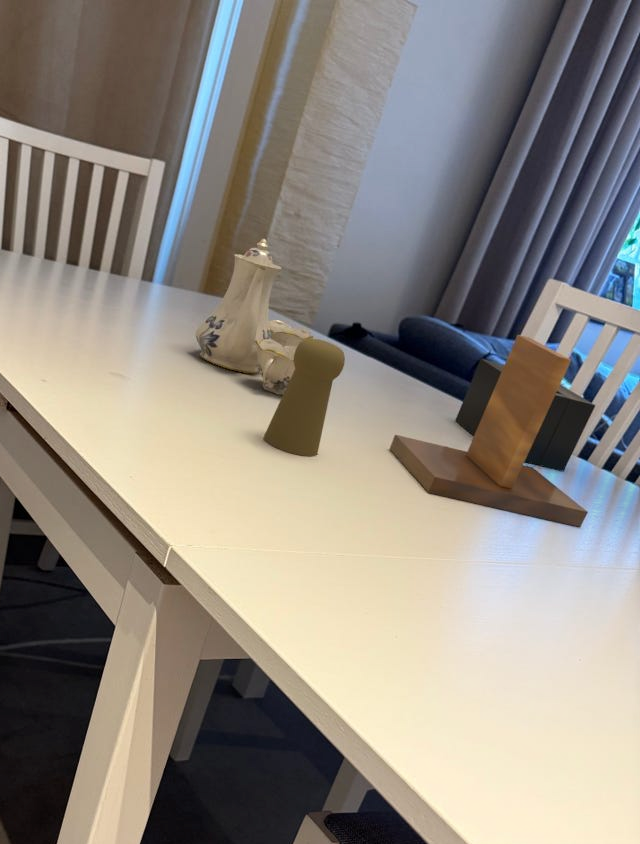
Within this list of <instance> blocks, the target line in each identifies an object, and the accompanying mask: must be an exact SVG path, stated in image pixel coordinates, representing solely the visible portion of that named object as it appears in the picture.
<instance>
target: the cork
mask: <svg viewBox="0 0 640 844" xmlns="http://www.w3.org/2000/svg"><path fill="white" fill-rule="evenodd" d="M345 361H346V357H345V352H344V351H343V349H342V348H340V346H338V345H336V344H334V343H333V342H329V341H326V340H323V339H319V338H318V339H317V338H313V339H305V340H303V341H301V342H300V343H299V345H298V346H297V348H296V350H295V354H294V366H295V370H294V373H293V375H292V377H291V379H290V381H289V383H288V385H287V388H285V389H286V390H285V392H284V394H283V395H282V396H281V398H280V401H279V403H278V405H277V407H276V409H275V411H274V414H273V415H272V418H271V420H270V422H269V424H268V427H267V429H266V431H265V433H264V435H263V440H264V441H265V442H266V443H268V444H269V445H270V446H272V447H274V448H277V449H279V450H281V451H284V452H287V453H290V454H294V455H297V456H302V457H303V456H304V457H315V456H317V455H318V452H319V448H320V444H321V440H322V434H323V429H324V424H325V420H326V416H327V410H328V406H329V402H330V396H331V391H332V386H333V382H334V380H336V378H338V377H340V375H341V373H342V372H343V369H344V367H345Z"/></svg>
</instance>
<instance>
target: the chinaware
mask: <svg viewBox="0 0 640 844" xmlns="http://www.w3.org/2000/svg"><path fill="white" fill-rule="evenodd" d="M256 246H257V247H251V248H249V249H248V250H247V251H246V252H245V254H244V255H243V254H236V253H235V254H233V256H234V267H233V272H232V276H231V278H230V282H229V285H228V287H227V290H226V292H225V293H224V296H223V298H222V299H221V301H220V302H219V304H218V306H217V307H216V308H215V309H214V311H212V312H211V314H210V315H209V316H208V317H207V318H205V320H203V321H202V322H201V323H200V324H199V326H198V327H197V329H196V331H195V338H196V341H197V343H198V345H199V347H200V350H201V352H200V353H199V357H200V356H201V357H202V358H204V359H205V360H207V361H209V362H211V363H213V364H212V365H214V364H216V365H218V366H217V367H219V366H221V367H220V368H222V367H223V368H222V369H225V368H227V369H226V370H228V369H231V370H230V371H232V370H235V371H234V372H236V371H238V372H237V373H241V372H243V374H250V373H251V375H253V374H258V373H259V374H260V376H261V378H262V379H261V380H262V383H263V384H262V388H263V389H264V390H266V391H268V392H271V393H274V394H276V395H282V396H283V394H284V392H285V390H286V388H287V385H288V383H289V381H290V379H291V377H292V375H293V373H294V370H295V366H294V354H295V350H296V348H297V346H298V345H299V343H300V342H301V341H303V340H305V339H314V336H313V335H311V332H310V331H309V330H308V329H306V328H302V327H298V328H297V327H296V328H294V327H292V326H290V325H289V324H288V323H286V322H284V321H282V320H280V319H279V320H277V319H272V320H269V305H270V298H271V292H272V289H273V286H274V282H275V280H276V278H277V277H278V274H279V272H280V271H281V270H282V268H283V267H281V266H279V265H276V264H274V260H273V256H272V254H271V252H269V251H268V250H267V249H268V248H269V245H268V244H267V240H266V239H265V238H262V239H260V241H259V242H257V243H256ZM201 357H200V358H201ZM202 358H201V359H202ZM204 359H203V360H204ZM205 360H204V361H205ZM207 361H206V362H207ZM209 362H208V363H209ZM211 363H210V364H211ZM216 365H215V366H216Z"/></svg>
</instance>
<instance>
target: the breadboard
mask: <svg viewBox="0 0 640 844" xmlns="http://www.w3.org/2000/svg"><path fill="white" fill-rule="evenodd" d="M389 450H390V451H391V453H392V454H393V455H394V456H395V457H396V458H397V459H398V460H399V462H400V463H401V464H402V465H403V466H404V467H405V469H407V471H408V472H409V473H410V474H411V475H412V476H413V477H414V478H415V480H416V481H418V483H419V484H420V485H421V486H422V487H423V489H424V490H426V492H427V493H428V494H433V495H436V496H442V497H445V498H446V497H447V498H449V499H450V498H451V499H455V500H459V501H462V502H463V501H464V502H468V503H472V504H476V505H481V506H485V507H488V508H489V507H490V508H494V509H499V510H504V511H507V512H511V513H516V514H521V515H525V516H530V517H534V518H539V519H543V520H547V521H551V522H555V523H560V524H565V525H569V526H573V527H578V528H581V527H582V525H583V523H584V521H585V519H586V517H587V515H588V513H589V512H588V511H587V509H585V508H584V507H583V506H581V505H580V504H578V502H577V501H575V500H573V499H572V497H570V496H568V494H566V493H565V492H564V491H563V490H561V489H560V488H559V487H558V486H556V485H555V483H553V482H552V481H550V480H549V479H548V478H546V476H544V475H542V474H541V472H539V471H538V470H537V469H536V468H534V467H532V466H530V465H525V464H523V466H522V468H521V470H520V472H519V474H518V477H517V479H516V481H515V483H514V485H513V487H512V489H510V488H505V487H501V486H499V485H498V484H497V483H496V482H495V481H494V480H492V479H491V478H490V477H489V476H488V475H487V474H486V473H485V472H484V471H483V470H481V469H480V468H479V467H478V466H477V465H476V464H475V463H474V462H473V461H472V460H471V459H469V458H468V457H467V456H466V454H467V452H468V451H466V450H461V449H457V448H453V447H449V446H445V445H441V444H438V443H437V444H436V443H433V442H428V441H424V440H419V439H416V438H411V437H407V436H403V435H398V434H394V436H393V438H392V441H391V444H390V447H389Z"/></svg>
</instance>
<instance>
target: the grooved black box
mask: <svg viewBox="0 0 640 844" xmlns="http://www.w3.org/2000/svg"><path fill="white" fill-rule="evenodd" d="M504 365H505V364H504V363H499V362H495V361H491V360H487V359H484V358H480V359H479V362H478V364H477V367H476V369H475V371H474V373H473V377H472V378H471V381H470V384H469V386H468V389H467V391H466V394H465V396H464V398H463V400H462V403H461V405H460V408H459V410H458V413H457V415H456V416H455V417H456V418H455V420H454V421H455V422H456V423H457V424H459V425H460V427H462V428H463V429H465V430H466V431H467V432H468V433H470V435H472V436H473V437H474V435H475V433H476V431H477V428H478V426H479V424H480V421H481V419H482V417H483V414H484V412H485V410H486V407H487V405H488V403H489V400H490V398H491V396H492V393H493V391H494V389H495V386H496V384H497V382H498V379H499V377H500V375H501V372H502V370H503V368H504ZM595 408H596V404H594V403H592V402H590V401H589V400H587V399H586V398H584V397H583V396H580V394H577V393H576V392H574V391H572V390H570V389H569V388H567V387H565V386H563V385H562V384H560V386H559V388H558V390H557V392H556V394H555V397H554V399H553V401H552V403H551V405H550V407H549V410H548V412H547V414H546V416H545V418H544V420H543V423H542V425H541V427H540V429H539V431H538V433H537V435H536V438H535V440H534V442H533V444H532V446H531V448H530V451H529V453H528V455H527V457H526V459H525V461H524V463H527V462H529V463H528V464H531V463H533V464H532V465H535V464H537V465H536V466H540V465H541V466H540V467H545V468H548V467H550V468H549V469H552V468H554V469H553V470H556V469H559V470H558V471H560V470H563V471H562V472H565V469H566V467H567V465H568V463H569V461H570V459H571V457H572V455H573V453H574V451H575V449H576V447H577V445H578V443H579V440H580V439H581V436H582V434H583V432H584V430H585V429H586V427H587V424H588V422H589V420H590V418H591V416H592V414H593V412H594V410H595Z"/></svg>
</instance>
